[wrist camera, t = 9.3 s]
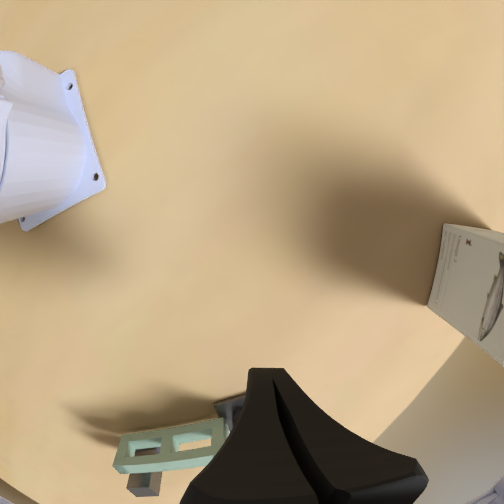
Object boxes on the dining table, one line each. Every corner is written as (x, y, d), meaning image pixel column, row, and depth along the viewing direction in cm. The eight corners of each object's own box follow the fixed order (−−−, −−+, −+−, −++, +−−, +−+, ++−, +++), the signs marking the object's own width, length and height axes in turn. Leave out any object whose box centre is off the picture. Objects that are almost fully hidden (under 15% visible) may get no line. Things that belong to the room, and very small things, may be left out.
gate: (223, 417, 22) (223, 453, 18) (228, 426, 23) (229, 461, 19) (122, 434, 22) (112, 465, 18) (128, 442, 23) (120, 473, 19)
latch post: (129, 444, 24) (118, 485, 18) (160, 440, 24) (152, 484, 18) (146, 462, 24) (138, 502, 19) (176, 458, 24) (171, 501, 19)
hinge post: (214, 402, 23) (213, 452, 17) (255, 390, 23) (263, 440, 17) (230, 429, 24) (232, 476, 18) (269, 418, 24) (278, 465, 18)
